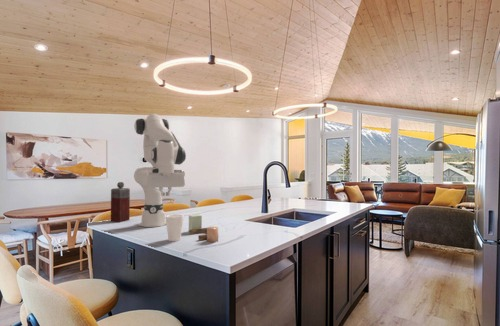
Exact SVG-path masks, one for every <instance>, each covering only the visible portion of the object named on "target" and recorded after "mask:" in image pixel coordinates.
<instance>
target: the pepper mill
mask: <svg viewBox="0 0 500 326" xmlns="http://www.w3.org/2000/svg"><path fill="white" fill-rule="evenodd" d="M116 186H117V187H116V188H112V189H111V190H110V222H116V223H122V222H126V221H130V215H131V214H130V211H131V210H130V208H131V207H130V206H131V205H130V204H131V203H130V201H131V199H130V197H131V196H130V193H131V188H129V187H127V188H126V187H125V183H124V182H123V181H122V182H121V181H118V182H117V184H116Z"/></svg>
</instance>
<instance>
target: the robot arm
mask: <svg viewBox="0 0 500 326" xmlns="http://www.w3.org/2000/svg"><path fill="white" fill-rule="evenodd" d="M133 126H134V132H135V133H136V134H137V135H140V136H141V135H144V136H143V143H142V144H143V147H142V148H143V158H144V159H143V160H145V161H146V162H147V163H149V164H150V165H151V167H150V166H148V167H147V166H145V167H140V168H139V167H138V168H136V170H134V173H133V179H134V181H135V182H136V183H137V184H138V185H139V186H140V187H142V190H143V193H144V205H143V209H144V210H143V212H141V221H140V223H138V226H140V227H145V228H157V227H162V226H167V224H166V212H165V211H164V203H163V197H165V196H166V197H170V193H171V191H172V190H173V189H172V188H182V187H184V186H185V185H186V184H185V171H184V170H183V169H175V165H179V166H180V165H182V164H183V163H184V162H185V160H186V158H187V157H186V156H187V155H186V154H187V153H186V151H185V149H184V148H183V147H182V146H181V144H180V142H179V141H178V139H177V138H176V135H175V134H174V133H173V132H172V131H170V124H169V121H168V120H167V119H164V118H162V117H161V116H160V115H159V114H158V113H151V114H149V115H147V117H146V118H137V119H136V120H135V122H134V125H133ZM164 188H167V192H163V189H164Z"/></svg>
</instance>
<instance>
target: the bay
mask: <svg viewBox="0 0 500 326" xmlns="http://www.w3.org/2000/svg"><path fill="white" fill-rule="evenodd" d="M203 233H204V234H203ZM205 233H206V234H205ZM196 234H197V235H198V234H199V235H198V237H197V238H198V241H204V240H206V241H207V227H202V228H201V229H192V230H189V229H188V235H196Z"/></svg>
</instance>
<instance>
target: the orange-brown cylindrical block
mask: <svg viewBox="0 0 500 326" xmlns="http://www.w3.org/2000/svg"><path fill="white" fill-rule="evenodd" d="M206 228H207V233H206V234H207V240H206V242H207V243H217V242H219V227H218V226H208V227H206Z"/></svg>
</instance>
